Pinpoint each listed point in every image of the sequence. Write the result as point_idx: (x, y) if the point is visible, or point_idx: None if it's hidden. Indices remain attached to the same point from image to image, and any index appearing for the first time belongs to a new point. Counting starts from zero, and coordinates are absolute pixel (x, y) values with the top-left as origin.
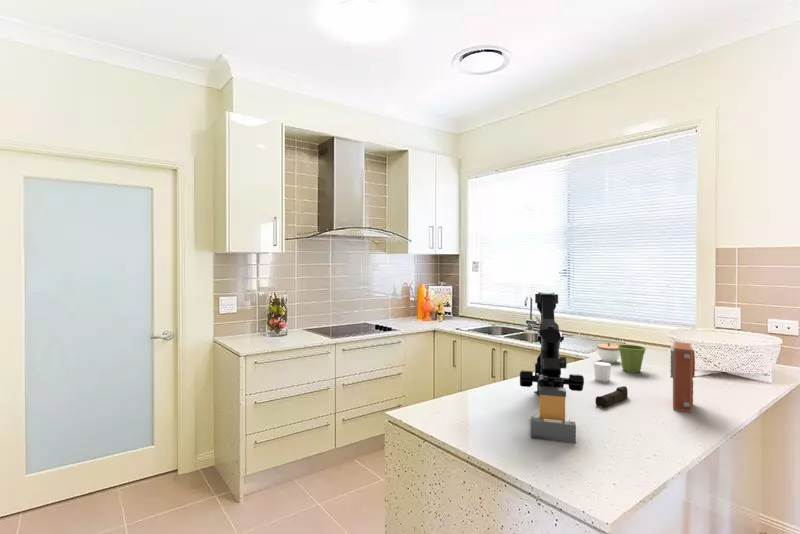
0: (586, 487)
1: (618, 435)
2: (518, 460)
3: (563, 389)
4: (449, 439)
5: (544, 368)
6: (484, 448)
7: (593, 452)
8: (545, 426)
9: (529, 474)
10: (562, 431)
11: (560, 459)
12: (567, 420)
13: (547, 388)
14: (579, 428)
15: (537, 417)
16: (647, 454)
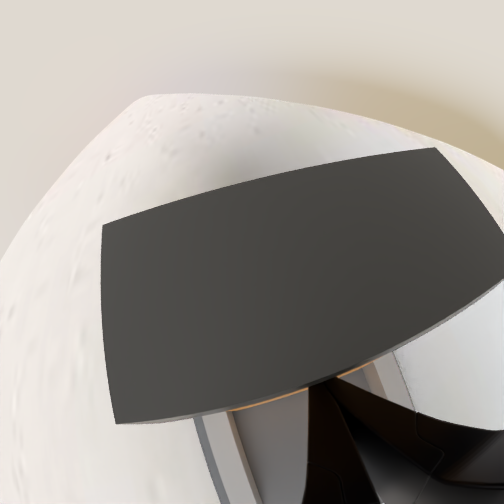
0: (157, 125)
1: (52, 460)
2: (303, 134)
3: (133, 302)
4: (466, 159)
5: None
6: (396, 148)
7: None
8: None
9: (260, 109)
10: None
11: (211, 179)
12: (222, 455)
13: (399, 210)
14: (184, 494)
15: (390, 395)
16: (7, 332)
